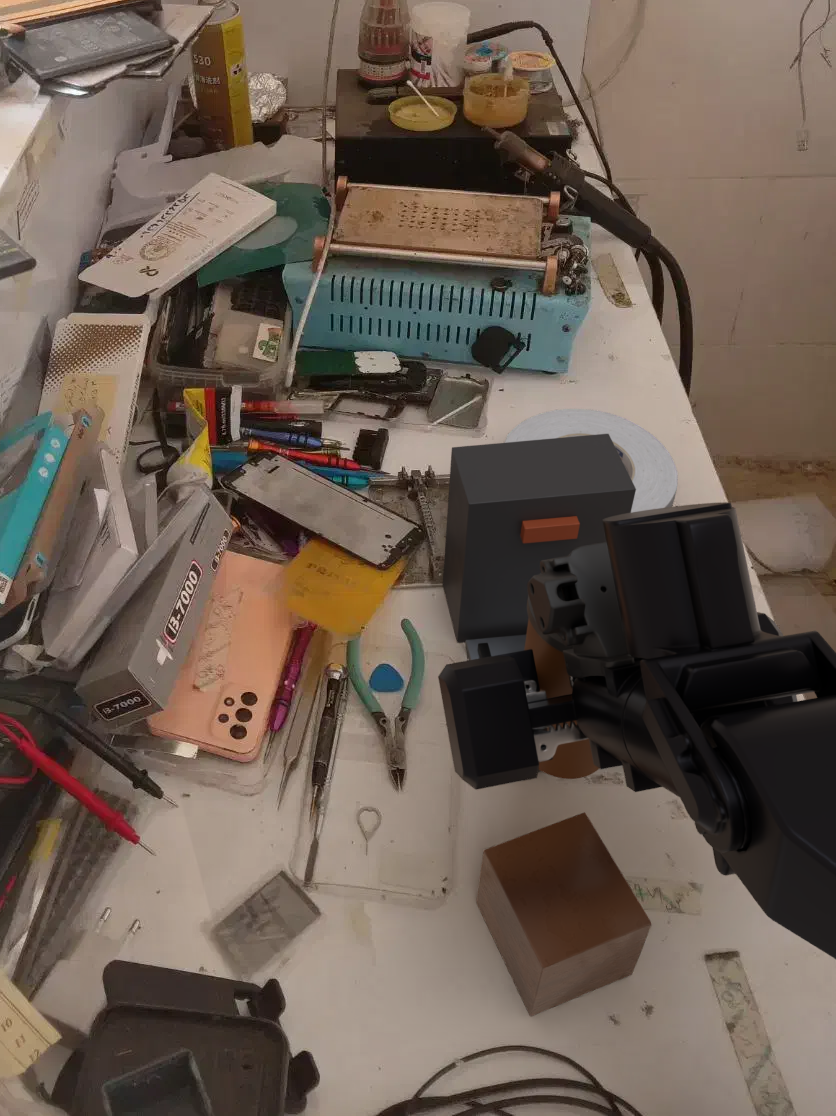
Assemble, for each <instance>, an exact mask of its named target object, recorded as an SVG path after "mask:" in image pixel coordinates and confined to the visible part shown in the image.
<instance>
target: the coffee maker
mask: <svg viewBox="0 0 836 1116" xmlns="http://www.w3.org/2000/svg"><path fill="white" fill-rule="evenodd" d="M450 453H451V454H450V456H451V457H450V467H449V468H450V470H449V484H448V486H449V487H448V496H447V497H448V500H447V514H446V529H445V542H444V543H445V544H444V559H443V573H442V588H443V592H444V597H445V600H446V604H447V607H448V611H449V612H448V613H449V615H450V620H451V624H452V628H453V632H454V635H455V636H454V637H455V639H456V643H459V644H460V643H466V640H471V639H482V638H493V637H504V636H515V635H525V634H527V626H528V619H529V617H528V613H527V600H528V589H527V583H528V582H529V580H530V579H531V578H532V577H533V576H534V575H539V574H540V573H541V570H540V561H541V560H547V559H553V558H558V557H564V556H568V555H569V554H570V553H571V552H572V551H573V550H574V549H575V548H577V547H580V546H585V545H591V544H596V543H602V542H606V537H605V531H604V526H603V521H602V520H603V519H605V518H608V517H612V516H616V515H621V514H626V513H631V509H632V505H633V501H634V496H635V492H636V488H635V486H634V484H633V482H632V480H631V478H630V476H629V474H628V472H627V470H626V468H625V466H624V464H623V462H622V460H621V458H620V456H619V454H618V452H617V450H616V448H615V446H614V444H613V442H612V440H611V437H610V435H609V434H597V435H586V436H575V437H563V438H552V439H541V440H530V441H518V442H507V443H504V442H497V443H496V442H495V443H485V444H476V445H475V444H474V445H463V446H462V445H461V446H452V447H451V452H450Z"/></svg>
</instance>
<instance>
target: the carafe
mask: <svg viewBox="0 0 836 1116" xmlns="http://www.w3.org/2000/svg"><path fill="white" fill-rule="evenodd" d="M540 574H541V573H540ZM527 613H528V617H529V619H528V626H527V634H526V641H525V649H524V650H529V649H532V650H533V655H534V660H535V666H536V671H537V676H538V682H539V687H540V689H543V690H544V691H546V696H547V698H552V697H557V696H563V695H568V694H572V688H571V685H570V680H569V675H568V673H567V670H566V665H565V659H564V654H563V650H567V649H573V645H572V646H567V647H566V646H565V645H564V644H563V642H562V639H561V637H560V636H559V635H558V634H556V633H553V634H547V635H544V634H543V633H541V631H540V630H539V628H538V625H537V622H536V619H535V615H534V612H533V609H532V605H531V602H530V598H529V595H528V600H527ZM574 722H575V724H576V725H577V721H576V720H575V721H574ZM566 723H568V725H569V727H570V722H566ZM559 724H560V725H561V727H562V728H563V723H559ZM553 726H554V728H555V729H556V724H554V725H553ZM547 730H548V731H549V727H548V728H547ZM539 770H541V771H540V772H542V773H545V774H547V775H549V776H551V777H555V778H558V779H565V780H575V779H576V780H577V779H582V778H586V777H588V776H591V775H593V774H594V773H596V772H598V771H599V770H601V769H600V768H598V767H597V766H595V765H594V763H593V758H592V753H591V748H590V742H589V739H586V740H581V741H575V742H570V743H565V744H560V745H558V746H557V748H556V752H555V754H554V756H553V759H552V760H548V761H542V762H539Z"/></svg>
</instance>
